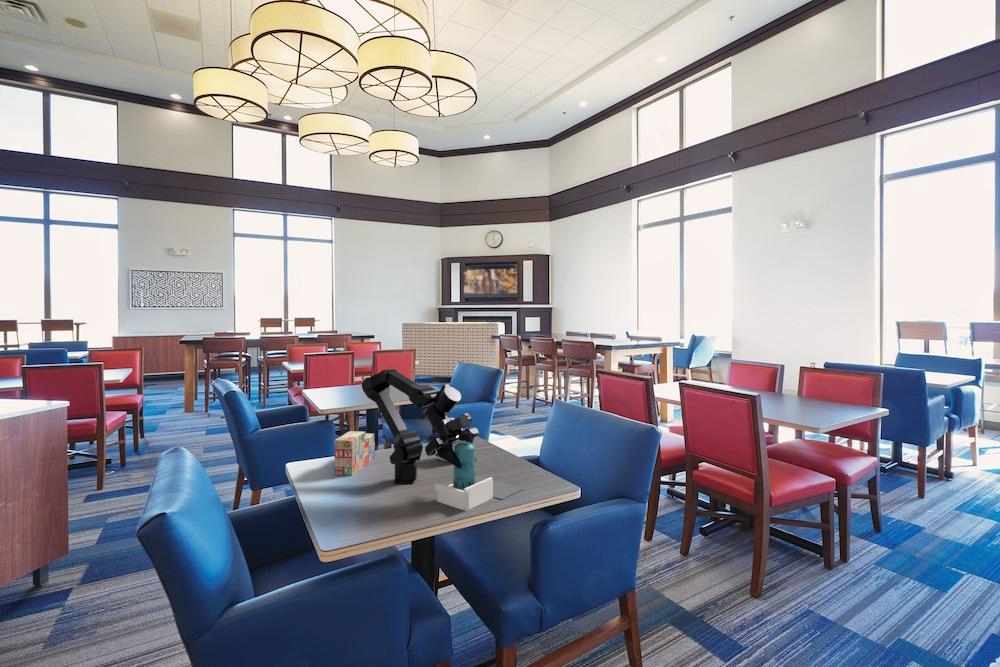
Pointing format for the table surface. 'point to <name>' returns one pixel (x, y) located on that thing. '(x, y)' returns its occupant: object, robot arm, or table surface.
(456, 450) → the beverage bottle
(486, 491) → the open-sided box
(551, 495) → the table surface
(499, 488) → the mat
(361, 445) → the stack of blocks
